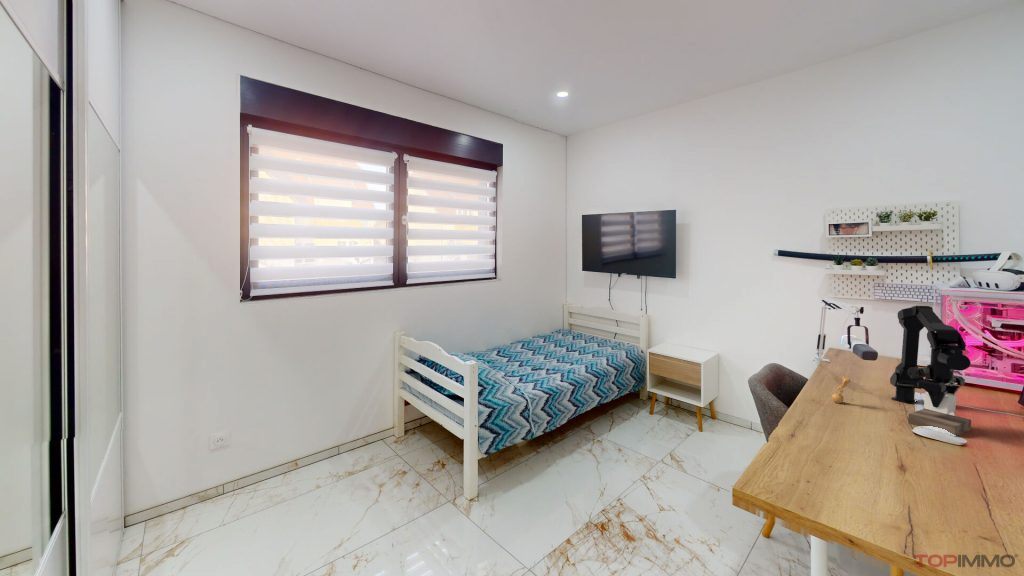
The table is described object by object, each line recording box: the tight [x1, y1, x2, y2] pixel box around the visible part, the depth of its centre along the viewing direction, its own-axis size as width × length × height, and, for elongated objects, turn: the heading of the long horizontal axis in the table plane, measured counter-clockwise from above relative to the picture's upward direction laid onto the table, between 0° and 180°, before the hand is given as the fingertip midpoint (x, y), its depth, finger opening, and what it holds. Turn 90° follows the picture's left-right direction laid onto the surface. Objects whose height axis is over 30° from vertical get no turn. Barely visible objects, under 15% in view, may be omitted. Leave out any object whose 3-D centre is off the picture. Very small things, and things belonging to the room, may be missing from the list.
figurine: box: [831, 375, 851, 404], centre depth 164 cm, size 8×6×12 cm
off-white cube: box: [923, 391, 957, 415], centre depth 141 cm, size 6×6×6 cm
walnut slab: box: [907, 408, 972, 436], centre depth 141 cm, size 12×12×4 cm
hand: (939, 405), depth 141 cm, fingers closed on off-white cube, 6 cm apart
